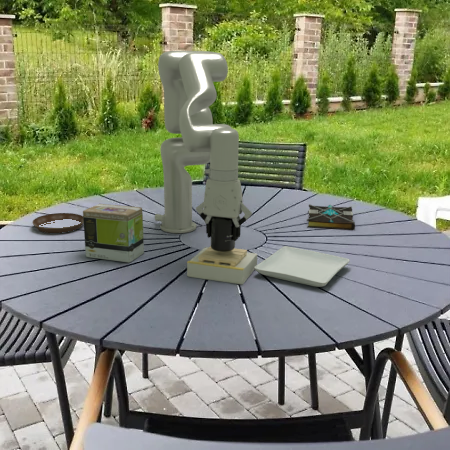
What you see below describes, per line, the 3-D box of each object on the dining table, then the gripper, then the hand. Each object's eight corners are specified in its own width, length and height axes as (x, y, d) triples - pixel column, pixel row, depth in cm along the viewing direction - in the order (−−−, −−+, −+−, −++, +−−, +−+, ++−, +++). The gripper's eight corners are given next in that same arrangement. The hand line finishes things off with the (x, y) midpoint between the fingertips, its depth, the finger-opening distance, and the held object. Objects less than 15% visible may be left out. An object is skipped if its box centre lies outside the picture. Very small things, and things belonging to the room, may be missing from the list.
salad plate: (325, 294, 149) (325, 282, 148) (252, 278, 159) (252, 266, 158) (350, 269, 167) (351, 258, 166) (283, 255, 177) (284, 245, 176)
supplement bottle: (232, 253, 157) (233, 211, 153) (208, 251, 158) (208, 209, 155) (237, 245, 163) (238, 204, 160) (213, 243, 165) (214, 202, 161)
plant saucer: (89, 232, 196) (88, 224, 195) (35, 238, 190) (34, 229, 189) (81, 218, 212) (81, 211, 211) (31, 223, 205) (30, 215, 204)
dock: (187, 276, 159) (187, 257, 157) (205, 259, 172) (205, 242, 170) (242, 284, 154) (242, 265, 152) (256, 266, 167) (257, 248, 165)
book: (354, 232, 201) (355, 218, 200) (306, 229, 204) (306, 215, 202) (351, 215, 222) (352, 202, 220) (307, 212, 224) (308, 200, 223)
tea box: (145, 253, 177) (143, 206, 172) (129, 264, 168) (127, 215, 163) (102, 247, 181) (99, 201, 177) (84, 257, 172) (81, 210, 168)
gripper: (188, 175, 154) (189, 238, 159) (250, 180, 149) (249, 245, 154) (199, 169, 161) (199, 230, 166) (258, 174, 155) (256, 237, 161)
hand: (223, 237), depth 160 cm, fingers closed on supplement bottle, 6 cm apart
